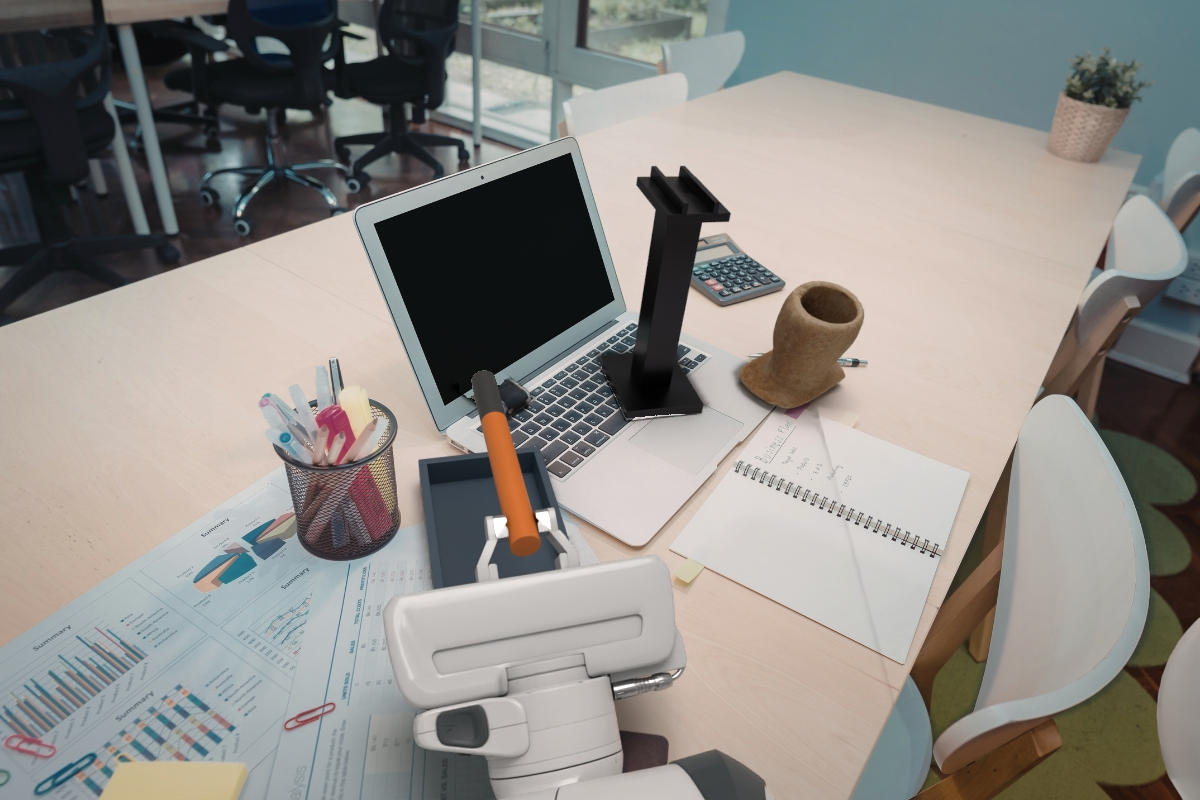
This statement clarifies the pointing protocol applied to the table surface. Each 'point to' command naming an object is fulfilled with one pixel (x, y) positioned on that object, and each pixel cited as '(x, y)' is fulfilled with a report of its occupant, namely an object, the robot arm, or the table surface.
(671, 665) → the robot arm
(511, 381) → the camera
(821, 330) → the stone cup
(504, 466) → the orange marker pen
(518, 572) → the tray
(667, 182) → the headphone stand
